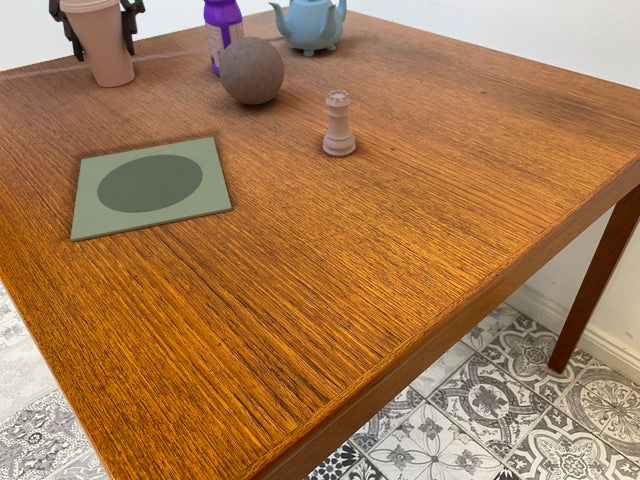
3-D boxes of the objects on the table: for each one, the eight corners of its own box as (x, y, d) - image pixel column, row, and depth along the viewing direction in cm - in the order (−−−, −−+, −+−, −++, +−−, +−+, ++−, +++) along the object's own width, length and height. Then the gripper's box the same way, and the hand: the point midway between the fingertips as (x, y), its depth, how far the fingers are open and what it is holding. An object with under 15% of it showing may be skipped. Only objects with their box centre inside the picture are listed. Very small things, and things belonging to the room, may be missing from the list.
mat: (82, 161, 71) (81, 158, 70) (213, 139, 74) (213, 136, 74) (71, 242, 57) (69, 239, 57) (232, 210, 61) (231, 207, 60)
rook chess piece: (351, 159, 68) (350, 103, 63) (318, 156, 69) (315, 99, 64) (359, 143, 71) (359, 88, 66) (328, 139, 72) (326, 85, 67)
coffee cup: (78, 82, 92) (43, -7, 82) (124, 64, 97) (96, -22, 88) (107, 95, 87) (74, 2, 77) (154, 75, 92) (128, -15, 83)
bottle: (255, 75, 91) (241, -34, 80) (226, 84, 89) (207, -28, 78) (236, 63, 96) (220, -42, 85) (208, 71, 94) (188, -36, 82)
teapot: (336, 62, 94) (335, 4, 88) (268, 57, 97) (262, 0, 91) (352, 38, 104) (352, -17, 97) (290, 34, 107) (286, -19, 100)
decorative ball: (268, 83, 88) (261, 22, 82) (298, 103, 82) (293, 39, 75) (214, 99, 84) (202, 37, 78) (242, 122, 78) (232, 56, 71)
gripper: (11, -84, 83) (30, 51, 81) (142, -95, 86) (163, 36, 84) (31, -53, 90) (49, 72, 89) (151, -64, 93) (171, 57, 91)
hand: (105, 54), depth 86 cm, fingers closed on coffee cup, 8 cm apart
